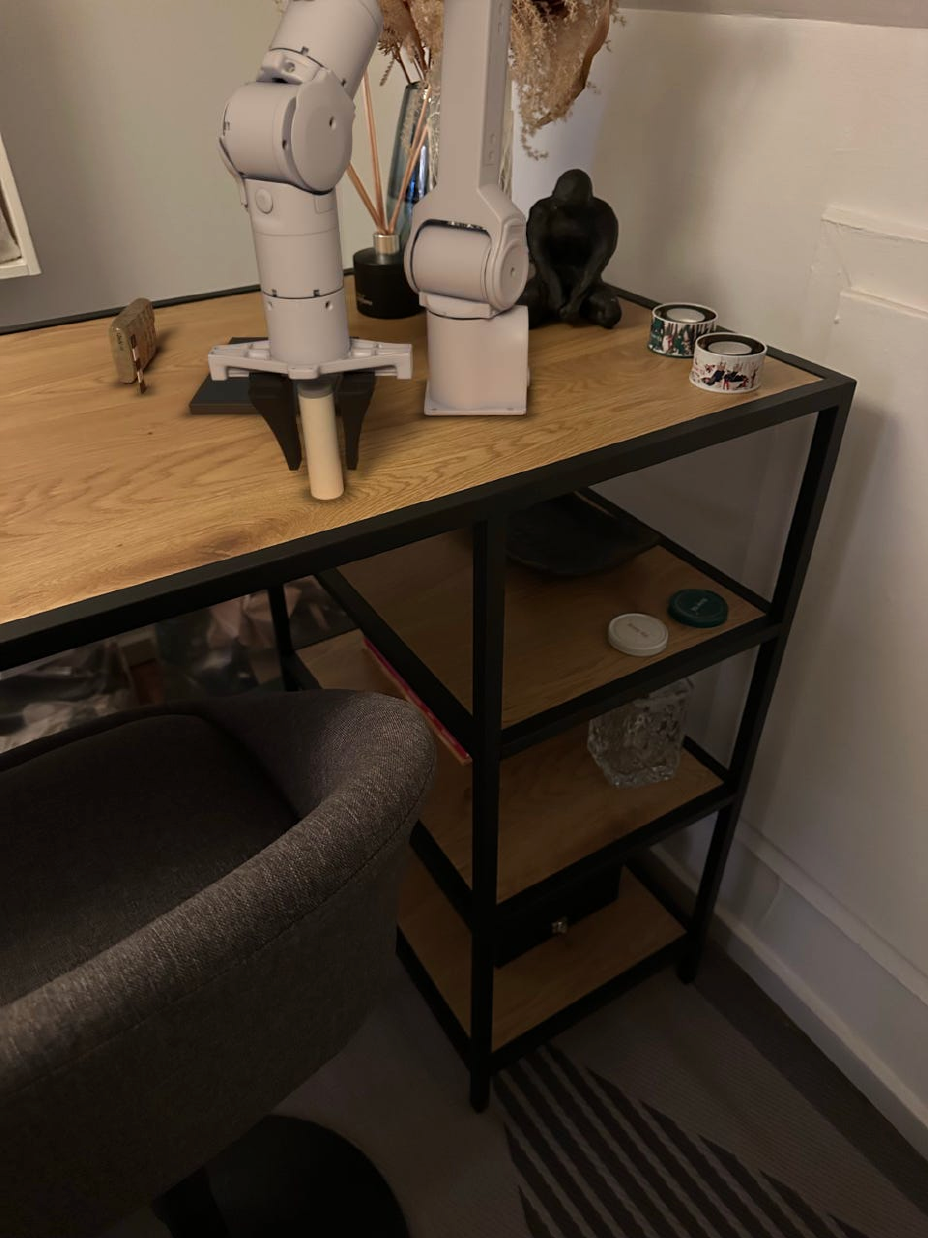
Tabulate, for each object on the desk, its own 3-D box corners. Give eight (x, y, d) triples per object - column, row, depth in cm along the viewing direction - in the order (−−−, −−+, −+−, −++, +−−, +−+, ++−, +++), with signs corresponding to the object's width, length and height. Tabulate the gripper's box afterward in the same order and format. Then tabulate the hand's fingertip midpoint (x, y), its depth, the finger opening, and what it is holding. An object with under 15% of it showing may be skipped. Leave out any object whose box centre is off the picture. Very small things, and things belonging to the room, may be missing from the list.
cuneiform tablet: (131, 336, 82) (165, 296, 92) (90, 334, 82) (129, 295, 92) (142, 394, 86) (174, 350, 95) (104, 393, 86) (139, 349, 95)
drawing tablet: (359, 345, 96) (359, 335, 95) (339, 413, 81) (337, 402, 81) (233, 345, 96) (231, 336, 95) (190, 414, 82) (188, 403, 81)
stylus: (345, 484, 70) (334, 377, 65) (341, 500, 68) (329, 390, 63) (313, 484, 71) (299, 377, 65) (308, 500, 68) (294, 391, 63)
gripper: (182, 305, 57) (220, 489, 65) (404, 303, 56) (413, 489, 65) (209, 274, 62) (240, 447, 71) (410, 272, 62) (419, 446, 70)
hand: (324, 464), depth 68 cm, fingers open, 4 cm apart
